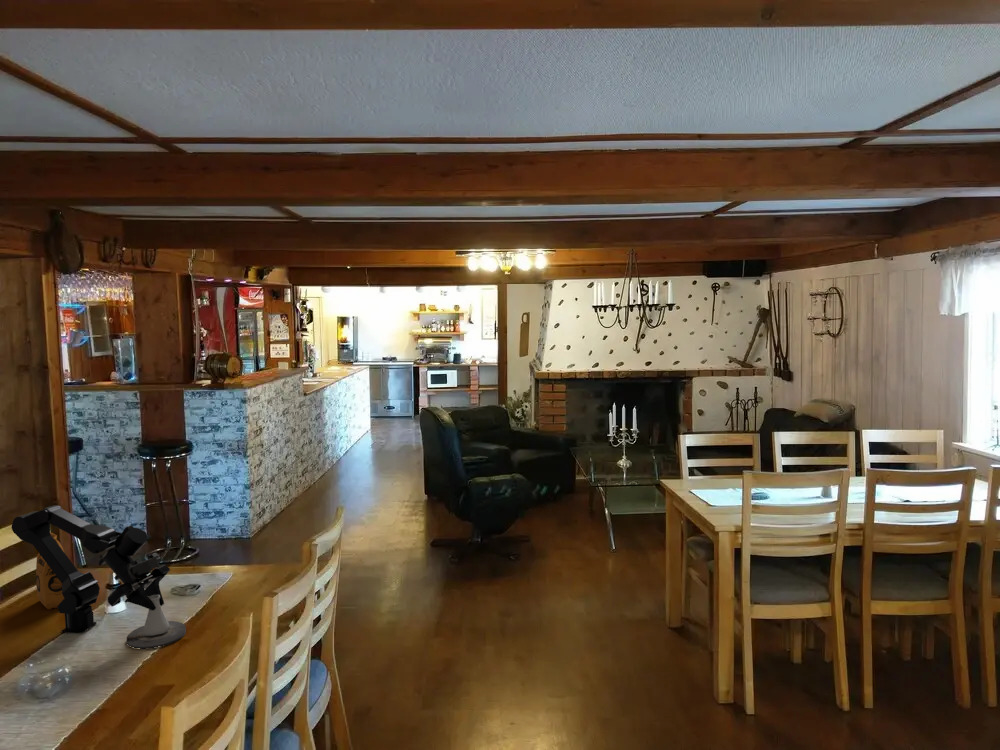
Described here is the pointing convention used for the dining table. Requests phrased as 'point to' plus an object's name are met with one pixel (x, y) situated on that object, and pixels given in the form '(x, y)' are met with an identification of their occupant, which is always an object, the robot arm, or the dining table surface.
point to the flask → (155, 619)
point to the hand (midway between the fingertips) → (158, 607)
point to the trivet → (156, 636)
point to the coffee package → (48, 582)
